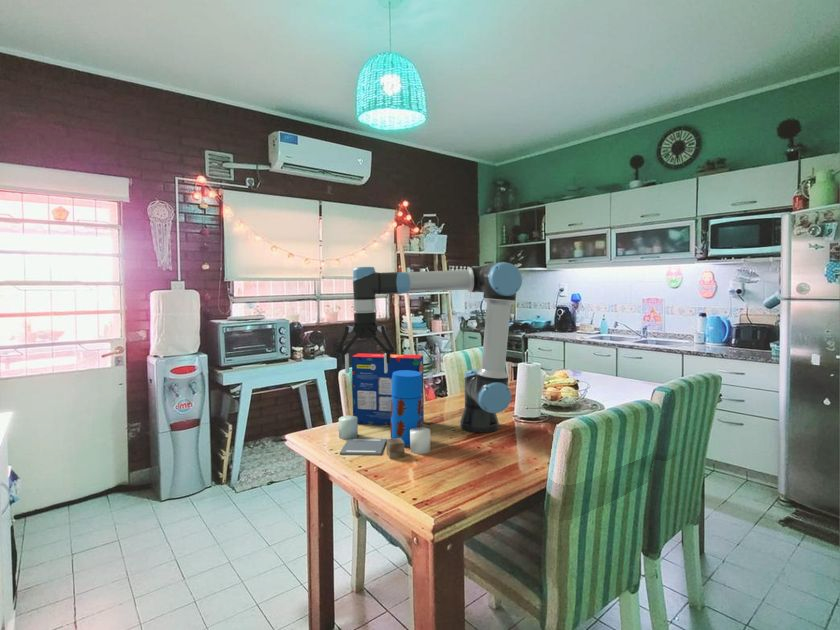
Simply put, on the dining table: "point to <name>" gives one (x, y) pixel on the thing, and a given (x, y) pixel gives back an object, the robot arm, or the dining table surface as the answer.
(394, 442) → the walnut block
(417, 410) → the thermos
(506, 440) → the dining table surface
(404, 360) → the pasta box
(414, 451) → the white rounded cylinder
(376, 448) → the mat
